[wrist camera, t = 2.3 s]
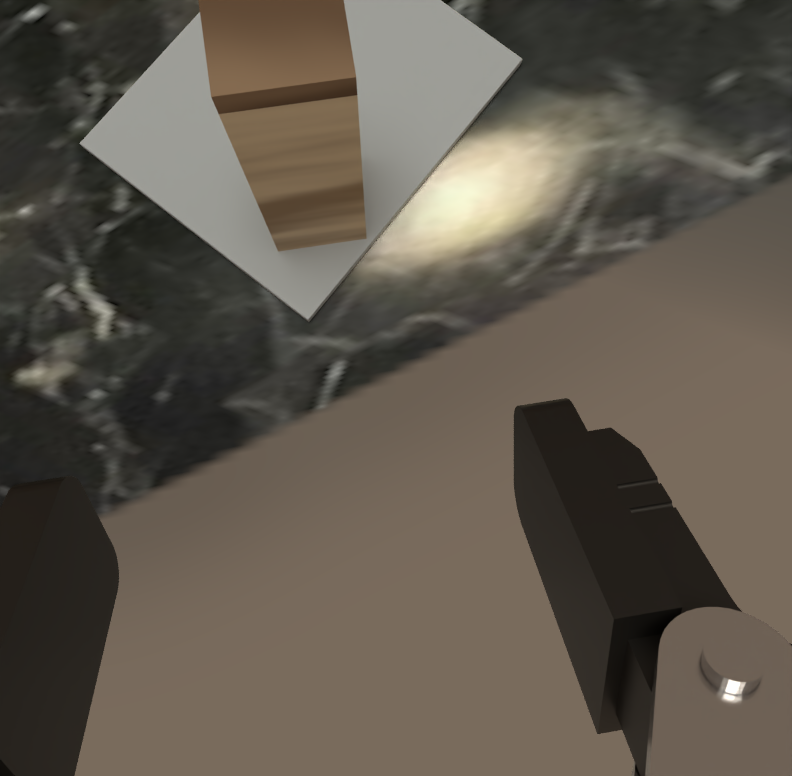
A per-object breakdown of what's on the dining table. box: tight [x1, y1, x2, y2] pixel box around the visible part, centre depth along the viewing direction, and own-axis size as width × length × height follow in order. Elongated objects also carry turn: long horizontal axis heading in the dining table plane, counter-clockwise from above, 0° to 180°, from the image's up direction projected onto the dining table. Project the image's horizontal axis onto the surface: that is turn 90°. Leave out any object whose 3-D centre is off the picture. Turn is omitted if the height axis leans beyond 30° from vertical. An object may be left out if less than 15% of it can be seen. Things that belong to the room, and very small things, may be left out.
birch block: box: [198, 0, 367, 251], centre depth 29 cm, size 4×4×14 cm
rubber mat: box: [80, 0, 522, 322], centre depth 37 cm, size 18×15×1 cm
